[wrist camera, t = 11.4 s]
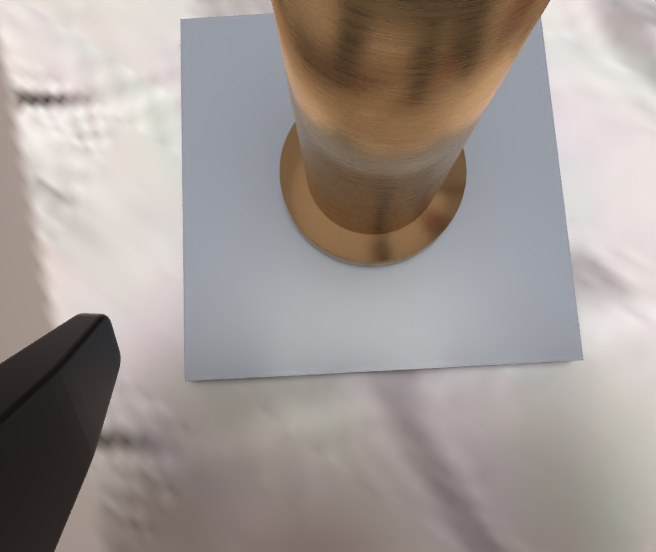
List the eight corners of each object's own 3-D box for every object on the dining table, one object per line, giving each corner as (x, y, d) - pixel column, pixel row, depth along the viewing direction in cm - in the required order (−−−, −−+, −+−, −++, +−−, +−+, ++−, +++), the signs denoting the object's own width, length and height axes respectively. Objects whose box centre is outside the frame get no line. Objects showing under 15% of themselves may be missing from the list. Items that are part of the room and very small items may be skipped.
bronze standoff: (487, 228, 17) (956, -177, 4) (320, 293, 17) (250, 87, 4) (418, 72, 18) (623, -679, 5) (258, 133, 18) (27, -481, 5)
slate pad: (569, 360, 17) (583, 360, 16) (193, 379, 17) (184, 381, 16) (528, 15, 19) (538, -4, 18) (188, 36, 19) (180, 19, 18)
